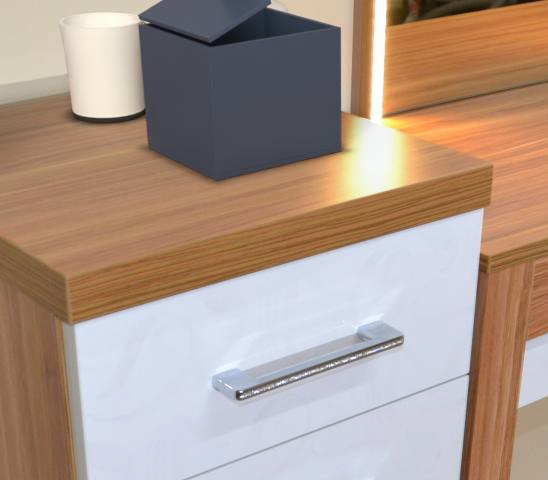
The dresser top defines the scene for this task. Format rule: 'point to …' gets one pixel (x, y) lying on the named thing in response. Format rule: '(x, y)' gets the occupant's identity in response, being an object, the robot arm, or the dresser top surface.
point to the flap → (202, 16)
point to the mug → (104, 66)
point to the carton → (243, 94)
